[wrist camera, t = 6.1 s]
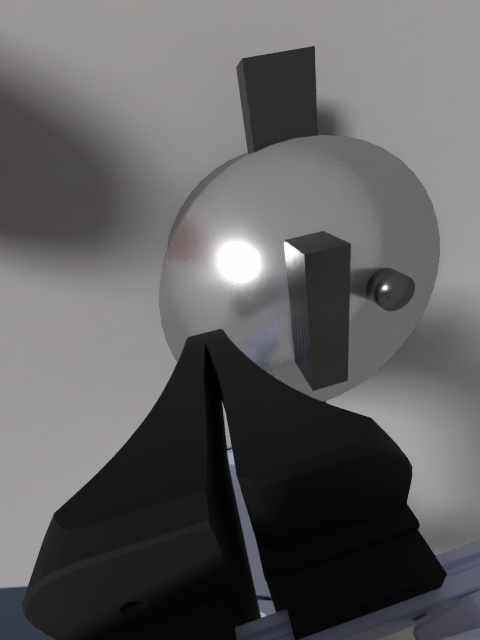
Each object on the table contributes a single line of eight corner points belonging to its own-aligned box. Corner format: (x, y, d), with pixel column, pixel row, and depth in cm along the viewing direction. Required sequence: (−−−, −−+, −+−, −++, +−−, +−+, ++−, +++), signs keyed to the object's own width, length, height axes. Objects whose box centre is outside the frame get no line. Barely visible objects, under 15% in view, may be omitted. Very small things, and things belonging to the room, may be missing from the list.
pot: (363, 357, 22) (399, 395, 18) (206, 401, 21) (213, 449, 17) (380, 57, 13) (454, 20, 10) (110, 105, 12) (85, 84, 9)
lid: (408, 365, 17) (447, 399, 15) (200, 425, 16) (205, 472, 13) (449, 107, 11) (529, 92, 8) (110, 175, 10) (90, 180, 7)
